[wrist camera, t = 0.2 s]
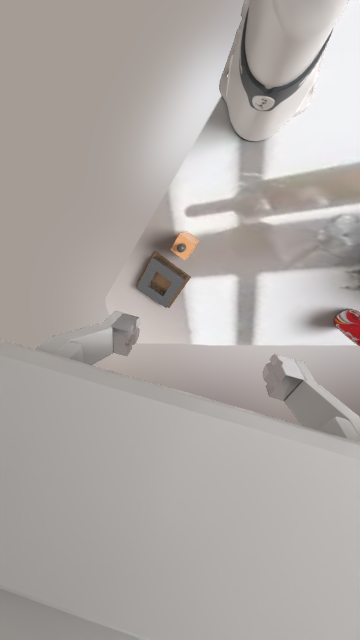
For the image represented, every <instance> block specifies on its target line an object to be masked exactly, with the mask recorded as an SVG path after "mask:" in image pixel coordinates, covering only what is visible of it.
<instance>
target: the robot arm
mask: <svg viewBox="0 0 360 640" xmlns="http://www.w3.org/2000/svg"><path fill="white" fill-rule="evenodd" d="M348 2H349V0H244V4H243V8H242V13H241V16H242V20H241V23H240V26H239V29H238V30H237V32H236V36H235V40H234V43H233V46H232V48H231V51H230V54H229V57H228V60H227V63H226V66H225V68H224V71H223V74H222V77H221V80H220V85H219V89H220V92H221V95H222V96H223V98H224V100H225V101H226V103H227V107H228V112H229V117H230V121H231V124H232V126H233V128H234V130H235V131H236V132H237V134H238V135H240V136H241V137H242V138H244V139H246V140H249V141H261V140H265V139H267V138H269V137H271V136H273V135H274V134H276V133H277V132H278V131H279V130H280V129H281V128H282V127H283V126H284V125H285V124H286V123H287V122H288V121H289V120H290V119H291V118H292V117H294V116H296V115H298V114H300V113H302V112H303V111H305V110H306V109H307V108H308V106H309V105H310V103H311V101H312V98H313V94H314V91H315V87H316V83H317V80H318V76H319V72H320V69H321V65H322V61H323V57H324V54H325V50H326V46H327V43H328V41H329V38H330V36H331V33H332V30H333V28H334V26H335V24H336V23H337V21H338V19H339V17H340V16H341V14H342V12H343V10H344V9H345V7H346V5H347V4H348ZM227 74H228V78H227ZM308 93H309V94H308ZM139 325H140V318H139V317H136V316H132V315H129V314H125V313H122V312H118V311H115V312H114V313H113V314H111V315H110V316H109V317H108V318H107V319H106V320H105V321H104V322H103V323H102V324H95V325H92V326H88V327H84V328H80V329H77V330H73V331H70V332H66V333H62V334H58V335H55V336H52V337H51V338H50V339H48V340H47V341H46V342H44V343H43V344H41V345H40V346H39V347H37V348H36V349H33V348H30V347H26V346H23V345H19V344H16V343H12V342H8V341H5V340H2V339H0V640H360V417H359V416H358V415H356V414H355V413H354V412H353V411H351V410H350V409H349V408H348V407H346V406H345V405H344V404H343V403H342V402H340V401H339V400H338V399H337V398H335V397H334V396H333V395H332V394H330V393H329V392H328V391H327V390H326V389H324V388H323V387H322V386H321V385H319V384H316V382H315V380H314V379H313V377H312V376H311V374H310V372H309V371H308V369H307V368H306V366H305V364H304V363H303V362H302V361H300V360H295V359H291V358H287V357H283V356H279V355H275V354H274V355H273V356H272V357H271V358H270V361H271V362H270V363H268V364H266V366H265V367H264V370H263V378H264V380H265V381H266V382H267V385H266V388H267V391H268V395H269V396H270V397H273V398H276V399H279V400H283V401H284V402H285V403H286V405H287V406H288V407H289V409H290V410H291V411H292V413H293V414H294V415H295V417H296V418H297V419H298V420H299V422H300V423H301V424H302V426H301V425H297V424H294V423H290V422H287V421H283V420H279V419H276V418H273V417H269V416H266V415H263V414H259V413H256V412H252V411H249V410H245V409H242V408H239V407H235V406H231V405H228V404H225V403H221V402H218V401H214V400H211V399H207V398H204V397H200V396H197V395H193V394H189V393H186V392H183V391H179V390H176V389H172V388H169V387H165V386H162V385H158V384H155V383H151V382H148V381H144V380H141V379H137V378H134V377H130V376H127V375H123V374H120V373H116V372H113V371H110V370H106V369H102V368H99V367H95V366H92V365H93V364H94V363H96V362H98V361H100V360H102V359H104V358H105V357H107V356H109V355H111V354H113V353H116V354H120V355H124V356H127V355H128V354H129V352H130V351H131V349H132V345H134V344H135V343H136V341H137V339H138V337H139V331H140V329H139V328H138V326H139Z"/></svg>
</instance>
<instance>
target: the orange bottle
mask: <svg viewBox="0 0 360 640" xmlns="http://www.w3.org/2000/svg"><path fill="white" fill-rule="evenodd" d="M198 243H199V240H198V239H197V238H195V237H194V236H193V235H192V234H190V233H189V232H183V233H180V234H179V236H178V237H177V239H176V241H175V243H174V244H173V246H172V248H171V251H173V252H174V253H175V254H177V255H178V256H179V257H181V258H182V259H184V260H186V259H187V258H188V257H189V256H190V255H191V254H192V252H193V251H194V249H195V247H196V246H197V244H198Z"/></svg>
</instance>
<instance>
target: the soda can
mask: <svg viewBox="0 0 360 640" xmlns="http://www.w3.org/2000/svg"><path fill="white" fill-rule="evenodd" d="M334 324H335V326H336V327H337V328H338V329H339V330H340V331H341V332H342V333H343V334H345V335H346V336H347V337H348V338H349V339H350V340H352V341H353V342H354V343H355V344H357V345H359V346H360V312H359V311H357V310H345V311H343V312H341V313H339V314H338V315H337V316H336V317H335V319H334Z"/></svg>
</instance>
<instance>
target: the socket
mask: <svg viewBox="0 0 360 640" xmlns="http://www.w3.org/2000/svg"><path fill="white" fill-rule="evenodd" d="M190 278H191V277H190V276H189V275H187V274H186V273H185V272H183V271H182V270H180V269H179V268H178V267H176V266H175V265H174V264H172V263H171V262H169V261H168V260H167V259H165V258H164V257H162V256H161V255H160V254H158V253H157V252H154V254H153V256H152V257H151V259H150V261H149V263H148V265H147V267H146V269H145V271H144V273H143V275H142V277H141V279H140V280H139V282H138V284H137V289H139V290H140V291H142V292H143V293H145V294H146V295H148V296H149V297H151V298H152V299H154V300H155V301H157V302H158V303H160V304H161V305H163V306H164V307H165V308H166V307H168V308H170V306H171V305H172V303H173V302H174V300H175V299H176V298H177V296H178V295H179V293H180V292H181V290H182V289H183V288H184V286H185V285H186V283H187V282H188V280H189V279H190Z"/></svg>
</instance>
